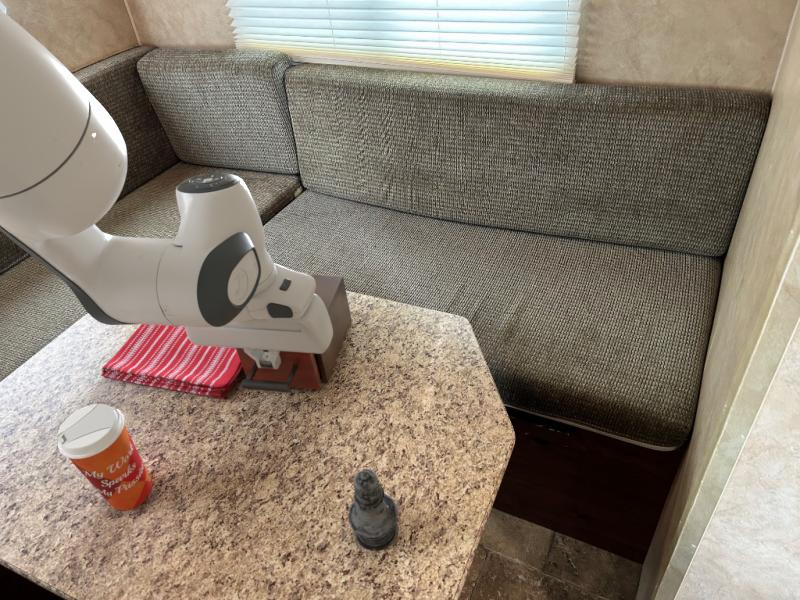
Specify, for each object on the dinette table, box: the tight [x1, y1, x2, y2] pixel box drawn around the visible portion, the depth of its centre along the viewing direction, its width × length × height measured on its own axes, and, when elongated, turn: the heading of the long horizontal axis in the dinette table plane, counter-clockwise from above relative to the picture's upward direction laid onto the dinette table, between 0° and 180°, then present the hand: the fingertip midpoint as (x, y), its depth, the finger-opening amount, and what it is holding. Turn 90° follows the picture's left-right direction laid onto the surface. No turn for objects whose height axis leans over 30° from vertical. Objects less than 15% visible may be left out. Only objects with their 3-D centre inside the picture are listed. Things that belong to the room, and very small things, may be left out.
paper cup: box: [57, 403, 153, 511], centre depth 77 cm, size 8×8×14 cm
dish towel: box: [100, 324, 244, 400], centre depth 100 cm, size 17×24×3 cm
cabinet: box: [308, 274, 352, 384], centre depth 97 cm, size 15×13×10 cm
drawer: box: [236, 348, 322, 394], centre depth 93 cm, size 18×11×8 cm, turn 169°
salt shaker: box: [347, 468, 399, 552], centre depth 69 cm, size 6×6×12 cm
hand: (270, 365), depth 86 cm, fingers closed
